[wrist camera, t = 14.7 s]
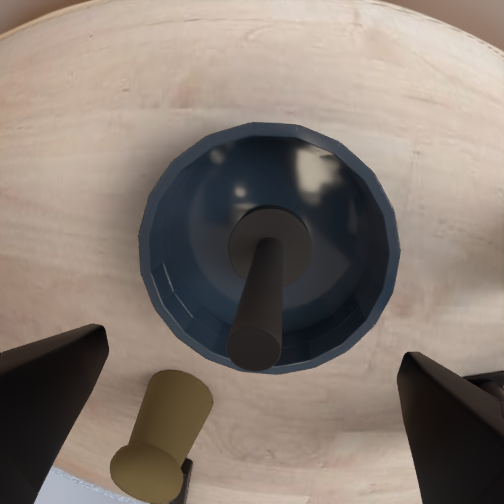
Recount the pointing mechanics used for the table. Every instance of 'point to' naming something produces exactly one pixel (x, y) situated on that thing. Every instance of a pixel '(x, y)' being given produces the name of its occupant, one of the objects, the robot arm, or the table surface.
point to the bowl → (260, 194)
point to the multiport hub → (186, 468)
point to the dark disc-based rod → (264, 281)
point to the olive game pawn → (162, 437)
